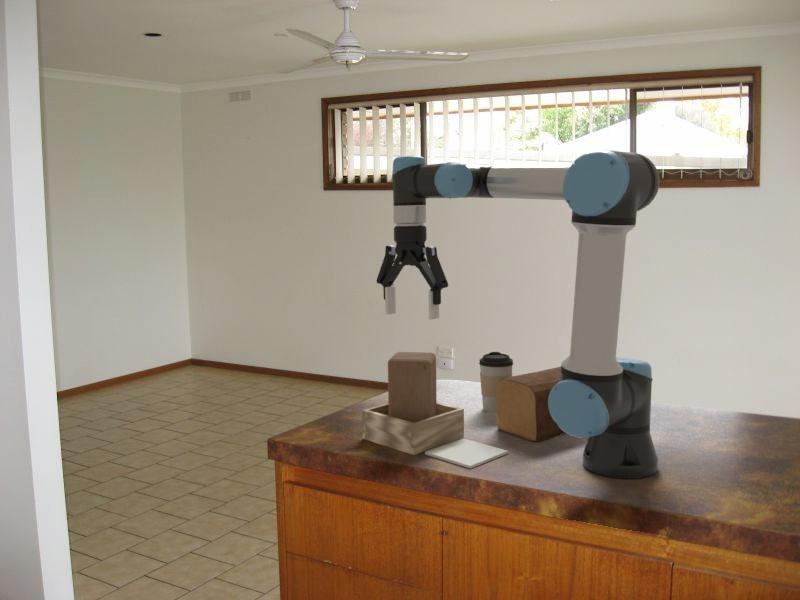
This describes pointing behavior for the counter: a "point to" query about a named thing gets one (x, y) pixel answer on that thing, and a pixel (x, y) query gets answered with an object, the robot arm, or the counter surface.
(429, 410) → the wooden block
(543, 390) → the bread
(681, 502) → the counter surface
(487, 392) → the coffee cup
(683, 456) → the counter surface
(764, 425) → the counter surface
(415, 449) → the birch frame
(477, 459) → the grey mat
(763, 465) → the counter surface
